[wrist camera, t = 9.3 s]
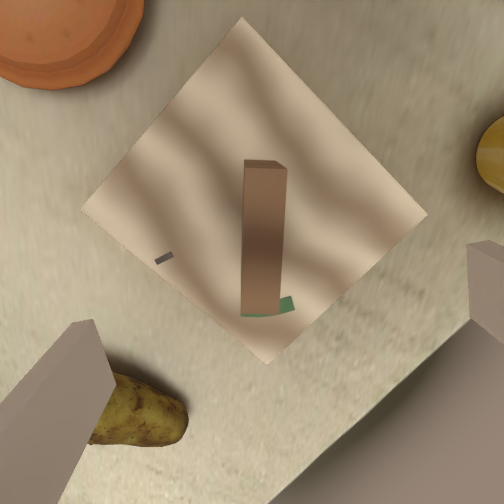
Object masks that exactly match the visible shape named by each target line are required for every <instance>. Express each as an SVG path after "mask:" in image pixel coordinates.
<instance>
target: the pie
mask: <svg viewBox="0 0 504 504" xmlns="http://www.w3.org/2000/svg"><path fill="white" fill-rule="evenodd" d="M144 3H145V0H0V77H2V78H5V79H7V80H9V81H11V82H13V83H15V84H18V85H20V86H22V87H27V88H37V89H47V90H58V89H64V88H69V87H75V86H80V85H84V84H86V83H88V82H89V81H91V80H93V79H95V78H97V77H98V76H100V75H102V74H104V73H106V72H107V71H109V70H110V69H111V68H112V67H113V65H114V64H115V63H116V62H117V61H118V59H119V58H120V57H121V56H122V54H123V53H124V52H125V51H126V50H127V48H128V47H129V45H130V43H131V41H132V39H133V37H134V34H135V32H136V30H137V28H138V26H139V24H140V21H141V19H142V17H143V12H144Z"/></svg>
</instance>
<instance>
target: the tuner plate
mask: <svg viewBox="0 0 504 504" xmlns="http://www.w3.org/2000/svg"><path fill="white" fill-rule="evenodd" d="M244 159H246V160H275V161H277V162H278V163H280V164H281V165H283V166H284V167H285V168H287V169H288V172H287V189H286V205H285V222H284V239H283V256H282V273H281V290H280V307H279V315H265V314H241V246H242V211H243V177H244ZM80 210H81V211H82V212H83V213H84V214H86V215H87V216H88V217H89V218H90V219H92V220H93V221H94V222H95V223H96V224H98V225H99V226H100V227H101V228H102V229H104V230H105V231H106V232H107V233H109V234H110V235H111V236H112V237H113V238H115V239H116V240H117V241H118V242H119V243H121V244H122V245H123V246H124V247H125V248H127V249H128V250H129V251H130V252H132V253H133V254H134V255H135V256H136V257H138V258H139V259H140V260H141V261H142V262H144V263H145V264H146V265H147V266H148V267H150V268H151V269H152V270H153V271H154V272H156V273H157V274H158V275H159V276H161V277H162V278H163V279H164V280H165V281H167V282H168V283H169V284H170V285H171V286H173V287H174V288H175V289H176V290H177V291H179V292H180V293H181V294H182V295H184V296H185V297H186V298H187V299H188V300H190V301H191V302H192V303H193V304H194V305H196V306H197V307H198V308H199V309H200V310H202V311H203V312H204V313H205V314H207V315H208V316H209V317H210V318H211V319H213V320H214V321H215V322H216V323H217V324H219V325H220V326H221V327H222V328H223V329H225V330H226V331H227V332H228V333H230V334H231V335H232V336H233V337H234V338H236V339H237V340H238V341H239V342H240V343H242V344H243V345H244V346H245V347H246V348H248V349H249V350H250V351H251V352H252V353H254V354H255V355H256V356H257V357H259V358H260V359H261V360H262V361H263V362H265V363H266V364H267V365H268V364H269V363H270V362H271V361H272V360H273V359H274V358H275V357H276V356H278V355H279V354H280V353H281V352H282V351H283V350H284V349H285V348H286V347H287V346H288V345H289V344H290V343H291V342H292V341H294V340H295V339H296V338H297V337H298V336H299V335H300V334H301V333H302V332H303V331H304V330H305V329H306V328H307V327H308V326H310V325H311V324H312V323H313V322H314V321H315V320H316V319H317V318H318V317H319V316H320V315H321V314H322V313H323V312H324V311H326V310H327V309H328V308H329V307H330V306H331V305H332V304H333V303H334V302H335V301H336V300H337V299H338V298H339V297H340V296H342V295H343V294H344V293H345V292H346V291H347V290H348V289H349V288H350V287H351V286H352V285H353V284H354V283H355V282H356V281H358V280H359V279H360V278H361V277H362V276H363V275H364V274H365V273H366V272H367V271H368V270H369V269H370V268H371V267H372V266H374V265H375V264H376V263H377V262H378V261H379V260H380V259H381V258H382V257H383V256H384V255H385V254H386V253H387V252H388V251H390V250H391V249H392V248H393V247H394V246H395V245H396V244H397V243H398V242H399V241H400V240H401V239H402V238H403V237H404V236H406V235H407V234H408V233H409V232H410V231H411V230H412V229H413V228H414V227H415V226H416V225H417V224H418V223H419V222H420V221H422V220H423V219H424V218H425V217H426V216H427V215H428V214H427V213H426V212H425V211H424V210H423V209H422V208H421V207H420V206H419V204H418V203H417V202H416V201H415V200H414V199H413V198H412V197H411V196H410V195H409V194H408V193H407V192H406V191H405V190H404V189H403V187H402V186H401V185H400V184H399V183H398V182H397V181H396V180H395V179H394V178H393V177H392V176H391V175H390V174H389V173H388V171H387V170H386V169H385V168H384V167H383V166H382V165H381V164H380V163H379V162H378V161H377V160H376V159H375V158H374V157H373V156H372V154H371V153H370V152H369V151H368V150H367V149H366V148H365V147H364V146H363V145H362V144H361V143H360V142H359V141H358V140H357V139H356V137H355V136H354V135H353V134H352V133H351V132H350V131H349V130H348V129H347V128H346V127H345V126H344V125H343V124H342V123H341V121H340V120H339V119H338V118H337V117H336V116H335V115H334V114H333V113H332V112H331V111H330V110H329V109H328V108H327V107H326V106H325V104H324V103H323V102H322V101H321V100H320V99H319V98H318V97H317V96H316V95H315V94H314V93H313V92H312V91H311V90H310V88H309V87H308V86H307V85H306V84H305V83H304V82H303V81H302V80H301V79H300V78H299V77H298V76H297V75H296V74H295V73H294V71H293V70H292V69H291V68H290V67H289V66H288V65H287V64H286V63H285V62H284V61H283V60H282V59H281V58H280V57H279V56H278V54H277V53H276V52H275V51H274V50H273V49H272V48H271V47H270V46H269V45H268V44H267V43H266V42H265V41H264V40H263V38H262V37H261V36H260V35H259V34H258V33H257V32H256V31H255V30H254V29H253V28H252V27H251V26H250V25H249V24H248V23H247V21H246V20H245V19H244V18H243V17H241V18H240V19H239V20H238V22H237V23H236V24H235V25H234V26H233V28H232V29H231V30H230V31H229V32H228V33H227V35H226V36H225V37H224V38H223V39H222V41H221V42H220V43H219V44H218V45H217V47H216V48H215V49H214V50H213V51H212V53H211V54H210V55H209V56H208V57H207V58H206V60H205V61H204V62H203V63H202V64H201V66H200V67H199V68H198V69H197V70H196V72H195V73H194V74H193V75H192V76H191V78H190V79H189V80H188V81H187V82H186V83H185V85H184V86H183V87H182V88H181V89H180V91H179V92H178V93H177V94H176V95H175V97H174V98H173V99H172V100H171V101H170V103H169V104H168V105H167V106H166V107H165V108H164V110H163V111H162V112H161V113H160V114H159V116H158V117H157V118H156V119H155V120H154V122H153V123H152V124H151V125H150V126H149V128H148V129H147V130H146V131H145V132H144V134H143V135H142V136H141V137H140V138H139V139H138V141H137V142H136V143H135V144H134V145H133V147H132V148H131V149H130V150H129V151H128V153H127V154H126V155H125V156H124V157H123V159H122V160H121V161H120V162H119V163H118V164H117V166H116V167H115V168H114V169H113V170H112V172H111V173H110V174H109V175H108V176H107V178H106V179H105V180H104V181H103V182H102V184H101V185H100V186H99V187H98V188H97V189H96V191H95V192H94V193H93V194H92V195H91V197H90V198H89V199H88V200H87V201H86V203H85V204H84V205H83V206H82V207H81V209H80Z"/></svg>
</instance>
